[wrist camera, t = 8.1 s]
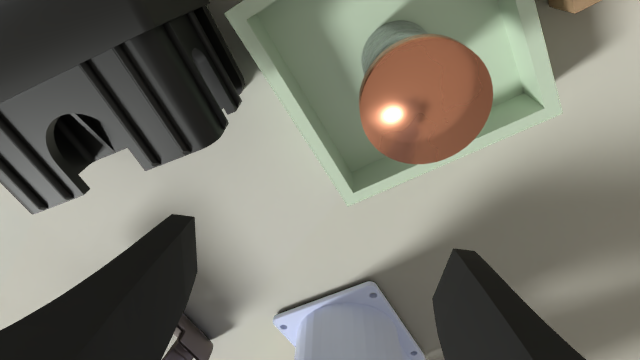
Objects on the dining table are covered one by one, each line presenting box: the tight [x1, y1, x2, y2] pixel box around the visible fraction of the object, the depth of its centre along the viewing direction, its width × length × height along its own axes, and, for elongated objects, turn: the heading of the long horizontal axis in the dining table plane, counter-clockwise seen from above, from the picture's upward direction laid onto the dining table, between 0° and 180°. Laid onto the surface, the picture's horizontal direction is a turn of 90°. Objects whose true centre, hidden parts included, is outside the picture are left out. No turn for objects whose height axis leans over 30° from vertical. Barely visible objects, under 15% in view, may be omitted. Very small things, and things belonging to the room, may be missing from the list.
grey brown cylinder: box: [359, 20, 493, 164], centre depth 14 cm, size 4×4×6 cm
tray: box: [224, 0, 563, 207], centre depth 16 cm, size 10×10×2 cm
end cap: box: [0, 0, 245, 214], centre depth 15 cm, size 10×7×7 cm
